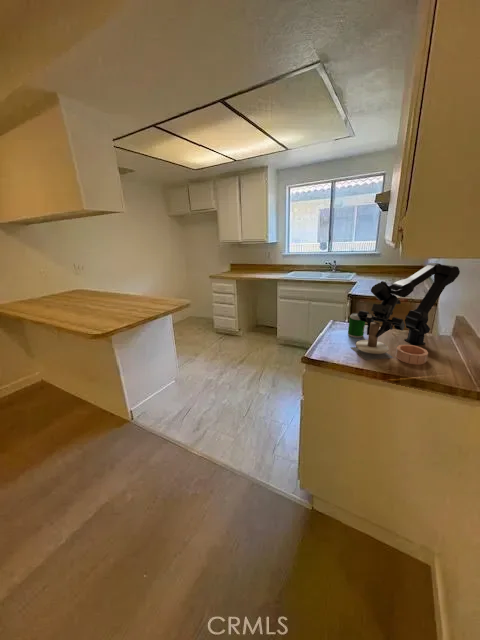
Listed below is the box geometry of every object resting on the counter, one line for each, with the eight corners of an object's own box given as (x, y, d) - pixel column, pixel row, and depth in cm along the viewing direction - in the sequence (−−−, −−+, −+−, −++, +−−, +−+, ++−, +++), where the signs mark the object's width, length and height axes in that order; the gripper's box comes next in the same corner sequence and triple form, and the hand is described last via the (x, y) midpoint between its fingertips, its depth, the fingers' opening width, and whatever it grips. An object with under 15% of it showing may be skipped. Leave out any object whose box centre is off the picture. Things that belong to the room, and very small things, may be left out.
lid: (350, 342, 124) (353, 319, 120) (376, 340, 125) (379, 317, 121) (366, 355, 112) (369, 329, 108) (394, 352, 113) (399, 327, 109)
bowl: (389, 354, 118) (391, 345, 116) (412, 352, 119) (414, 343, 118) (407, 366, 107) (409, 356, 106) (432, 364, 109) (434, 354, 107)
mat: (349, 348, 125) (349, 347, 125) (375, 346, 126) (375, 345, 126) (365, 361, 112) (365, 360, 112) (393, 359, 114) (393, 357, 114)
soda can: (361, 340, 134) (364, 317, 130) (345, 337, 138) (348, 315, 134) (364, 335, 139) (367, 314, 135) (350, 332, 144) (352, 311, 140)
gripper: (361, 293, 120) (346, 321, 117) (406, 300, 106) (390, 332, 103) (368, 306, 127) (353, 333, 125) (411, 314, 114) (396, 345, 111)
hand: (371, 335), depth 116 cm, fingers closed on lid, 4 cm apart
